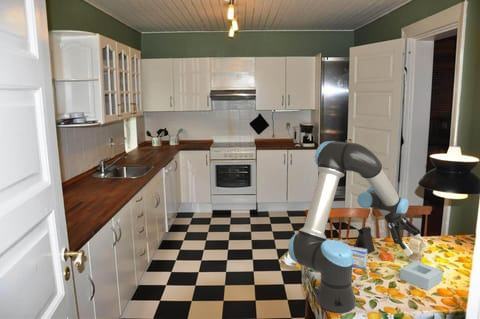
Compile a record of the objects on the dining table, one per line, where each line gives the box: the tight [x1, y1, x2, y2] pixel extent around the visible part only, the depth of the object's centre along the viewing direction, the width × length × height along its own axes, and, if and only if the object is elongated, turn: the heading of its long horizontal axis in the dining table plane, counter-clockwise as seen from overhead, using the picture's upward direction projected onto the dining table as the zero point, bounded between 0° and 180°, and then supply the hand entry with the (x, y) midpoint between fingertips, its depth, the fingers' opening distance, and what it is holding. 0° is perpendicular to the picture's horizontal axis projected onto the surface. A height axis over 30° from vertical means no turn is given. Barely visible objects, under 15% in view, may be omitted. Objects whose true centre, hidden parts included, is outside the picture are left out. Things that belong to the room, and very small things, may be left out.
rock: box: [378, 250, 395, 262], centre depth 174 cm, size 12×12×4 cm
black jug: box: [353, 226, 376, 255], centre depth 184 cm, size 9×6×12 cm, turn 33°
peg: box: [408, 236, 424, 264], centre depth 168 cm, size 4×4×12 cm
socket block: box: [399, 261, 444, 291], centre depth 153 cm, size 12×12×5 cm
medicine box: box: [349, 245, 368, 270], centre depth 167 cm, size 8×4×9 cm, turn 62°
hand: (417, 251), depth 168 cm, fingers open, 13 cm apart
